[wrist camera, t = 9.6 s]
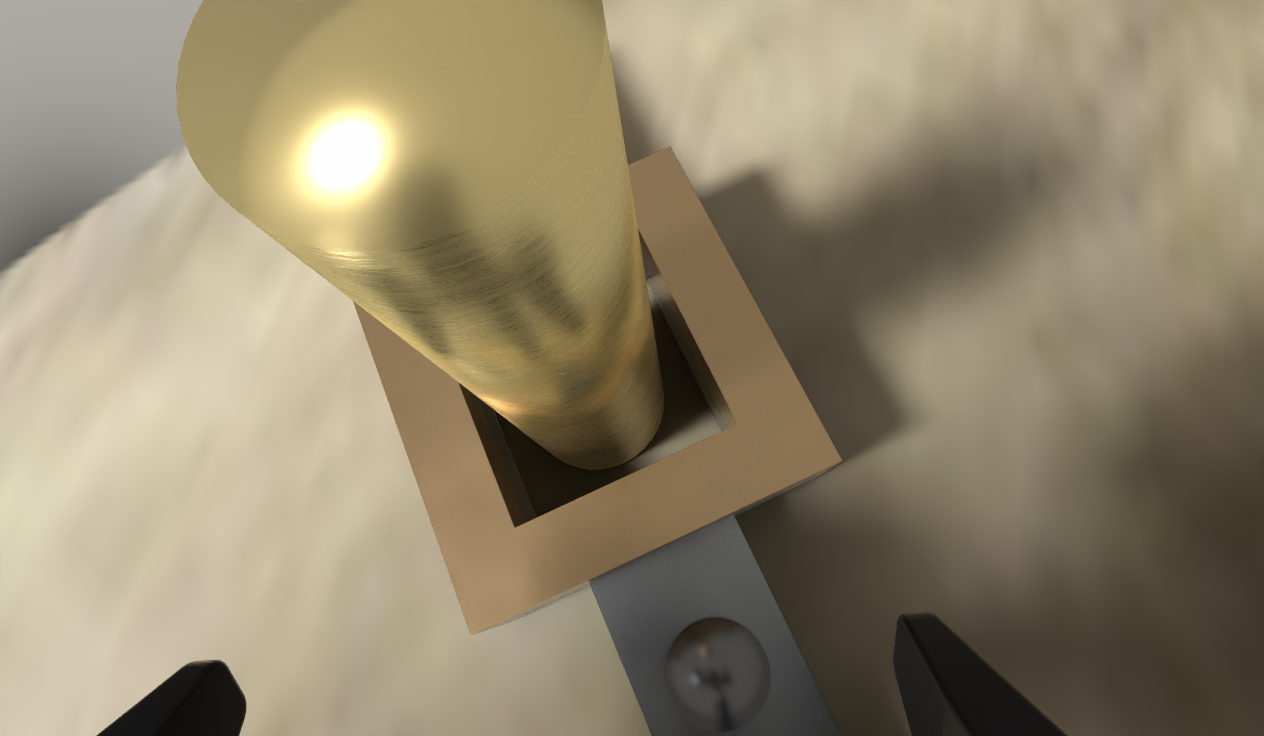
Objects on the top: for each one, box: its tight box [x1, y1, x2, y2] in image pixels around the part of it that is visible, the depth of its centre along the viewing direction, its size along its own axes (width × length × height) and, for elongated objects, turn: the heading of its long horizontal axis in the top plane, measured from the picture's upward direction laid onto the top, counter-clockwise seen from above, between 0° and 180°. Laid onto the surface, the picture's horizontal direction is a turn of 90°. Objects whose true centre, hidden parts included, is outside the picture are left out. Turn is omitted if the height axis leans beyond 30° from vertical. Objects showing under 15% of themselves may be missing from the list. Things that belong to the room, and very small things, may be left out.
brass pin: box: [176, 0, 664, 470], centre depth 12 cm, size 4×4×13 cm
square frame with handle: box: [353, 147, 842, 736], centre depth 16 cm, size 24×8×3 cm, turn 24°
